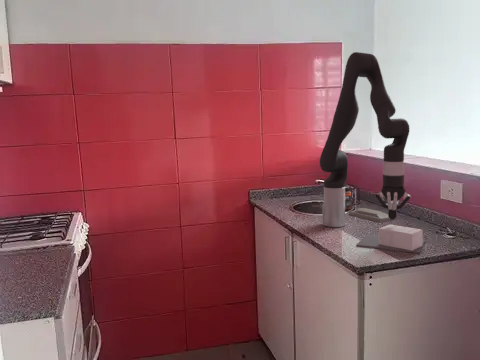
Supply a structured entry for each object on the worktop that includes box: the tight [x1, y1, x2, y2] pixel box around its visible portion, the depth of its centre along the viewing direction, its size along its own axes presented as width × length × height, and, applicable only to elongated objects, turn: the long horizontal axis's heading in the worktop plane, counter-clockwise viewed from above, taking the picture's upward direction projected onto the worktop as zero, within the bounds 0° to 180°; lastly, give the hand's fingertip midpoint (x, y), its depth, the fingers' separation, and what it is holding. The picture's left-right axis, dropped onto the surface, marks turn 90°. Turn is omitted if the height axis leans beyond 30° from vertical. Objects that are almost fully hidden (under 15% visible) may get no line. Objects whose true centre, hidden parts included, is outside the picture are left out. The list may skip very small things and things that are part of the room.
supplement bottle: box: [345, 186, 352, 211], centre depth 232 cm, size 6×6×11 cm
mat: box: [356, 233, 426, 254], centre depth 170 cm, size 22×16×1 cm
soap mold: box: [348, 207, 397, 223], centre depth 213 cm, size 10×20×4 cm, turn 30°
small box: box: [378, 224, 424, 251], centre depth 165 cm, size 8×6×13 cm
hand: (392, 219), depth 168 cm, fingers closed
